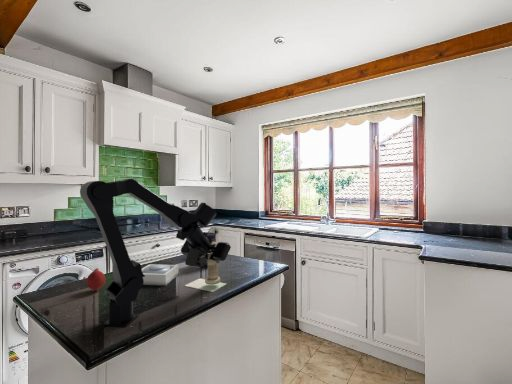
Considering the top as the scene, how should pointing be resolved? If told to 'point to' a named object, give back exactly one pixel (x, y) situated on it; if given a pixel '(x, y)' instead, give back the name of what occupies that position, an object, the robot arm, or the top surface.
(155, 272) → the dome button
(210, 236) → the dark blue cylinder
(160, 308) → the top surface
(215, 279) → the beech pawn
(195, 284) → the game track
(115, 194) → the robot arm
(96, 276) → the onion
